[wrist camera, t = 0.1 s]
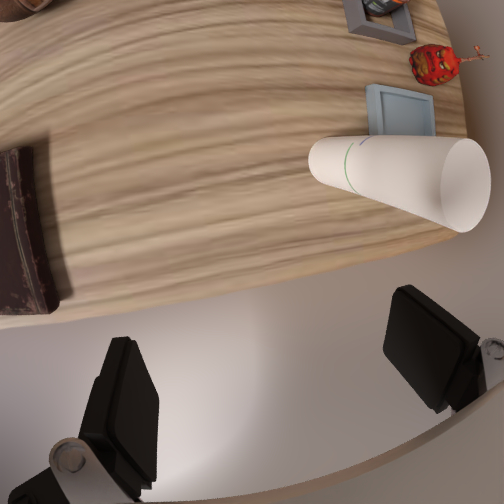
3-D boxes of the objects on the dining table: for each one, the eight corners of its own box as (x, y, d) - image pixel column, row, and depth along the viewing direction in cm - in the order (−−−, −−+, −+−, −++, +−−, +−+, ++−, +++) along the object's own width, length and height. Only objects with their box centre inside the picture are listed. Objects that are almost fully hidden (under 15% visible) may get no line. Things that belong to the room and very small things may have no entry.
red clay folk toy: (401, 48, 34) (462, 30, 20) (426, 49, 35) (485, 36, 21) (414, 87, 37) (479, 80, 23) (438, 86, 37) (499, 81, 24)
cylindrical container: (359, 167, 40) (496, 198, 17) (325, 194, 41) (454, 250, 18) (335, 127, 38) (475, 122, 14) (298, 155, 38) (427, 170, 15)
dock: (333, -33, 27) (343, -43, 23) (385, -18, 29) (397, -26, 25) (349, 32, 32) (361, 24, 29) (402, 45, 34) (416, 40, 30)
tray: (364, 86, 36) (373, 83, 34) (423, 96, 38) (432, 95, 35) (370, 185, 42) (379, 187, 39) (426, 183, 43) (435, 185, 41)
